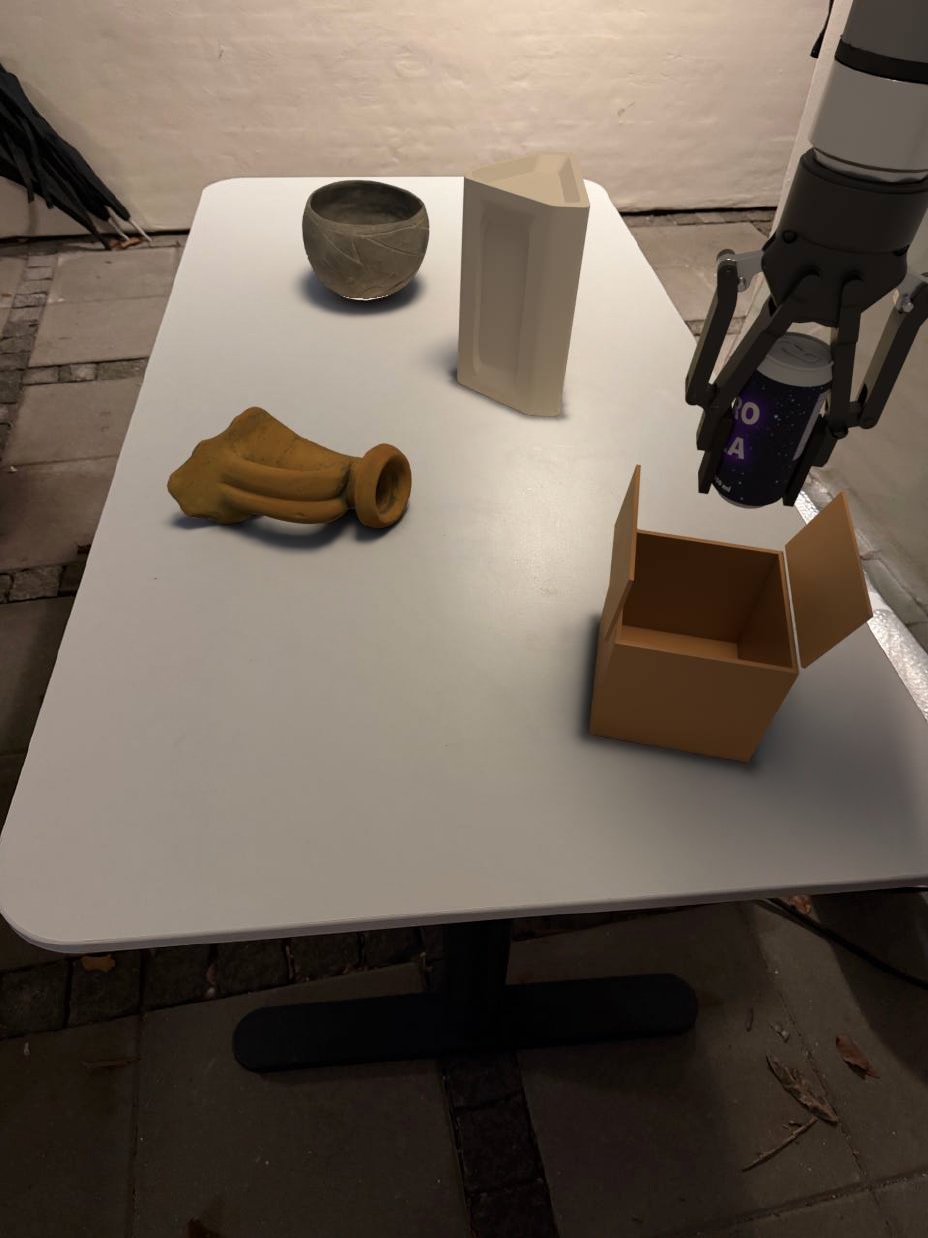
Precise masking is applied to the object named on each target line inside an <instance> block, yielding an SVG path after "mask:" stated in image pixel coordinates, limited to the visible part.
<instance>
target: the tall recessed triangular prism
mask: <svg viewBox="0 0 928 1238" xmlns="http://www.w3.org/2000/svg"><path fill="white" fill-rule="evenodd" d="M578 159H579V158H578V155H577V154H576V153H573V152H564V151H563V152H562V151H538V152H533V153H529V154H525V155H521V156H517V157H516V156H515V157H512V158H508V159H504V160H499V161H495V162H490V163H486V164H481V165H477V166H473V167H470V168H469V167H468V168H466V169H464V171H463V189H462V191H463V193H462V219H461V220H462V221H461V222H462V223H461V224H462V225H461V250H460V253H461V254H460V279H459V280H460V281H459V282H460V284H459V309H458V310H459V311H458V313H459V315H458V338H457V339H458V340H457V341H458V343H457V367H456V370H457V371H456V373H457V374H456V380H457V383H458V384H460V385H462V386H465V387H466V388H468V389H470V390H473V391H475V392H477V393H478V394H482V395H484V396H486V397H488V398H490V399H492V400H494V401H497V402H499V403H501V404H503V405H505V406H508V407H510V408H511V409H514V410H516V411H518V412H520V413H522V414H525V415H527V416H528V415H529V416H539V417H557V416H559V415H560V413H561V406H562V401H563V393H564V387H565V379H566V373H567V365H568V358H569V352H570V345H571V339H572V331H573V324H574V318H575V312H576V305H577V297H578V291H579V285H580V277H581V271H582V265H583V257H584V250H585V244H586V237H587V230H588V223H589V218H590V217H589V216H590V211H591V210H590V209H591V202H590V198H589V195H588V192H587V188H586V187H587V186H586V184H585V181H584V177H583V174H582V170H581V167H580V162H579V160H578Z"/></svg>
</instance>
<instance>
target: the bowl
mask: <svg viewBox="0 0 928 1238" xmlns="http://www.w3.org/2000/svg"><path fill="white" fill-rule="evenodd" d="M426 207H427V206H426V204H425V203H424V202H423V200H422V199H421V198H420V197H418V196H417V195H416V194H414V193H413V192H411V191H409V190H407V189H406V188H402V187H399V186H397V185H396V186H395V185H392V184H389V183H386V182H381V181H375V180H369V179H368V180H365V179H346V180H339V181H334V182H331V183H328V184H325V185H323V186H321V187H318V188H317V189H315V190H313V191H312V193H311V194H309V196H308V198H307V200H306V202H305V206H304V209H303V214H302V219H301V234H302V241H303V249H304V251H305V255H306V256H307V260H308V262H309V265H310V266H311V269H312V271H313V272H314V274H315V275H316V277H317V278H318V279H319V280H320V282H322V284H323V285H325V286H326V288H328V289H329V290H331V291H332V292H333V291H334V293H335V294H336V293H337V294H336V295H338V294H339V295H338V296H340V295H342V296H345V297H349V298H363V299H369V298H377V297H382V296H386V295H390V294H392V295H394V294H396V293H397V292H399V291H400V290H402V289H403V288H404V287H406V286H408V284H409V283H410V282H412V281H413V279H414V277H415V276H416V275H417V273H418V272H419V270H420V268H421V266H422V264H423V262H424V260H425V256H426V254H427V251H428V245H429V241H430V232H431V231H430V219H429V213H428V210H427V208H426ZM395 292H396V293H395ZM393 293H394V294H393ZM342 296H341V297H342ZM390 296H391V295H390Z"/></svg>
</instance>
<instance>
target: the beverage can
mask: <svg viewBox="0 0 928 1238" xmlns="http://www.w3.org/2000/svg"><path fill="white" fill-rule="evenodd" d="M833 364H834V360H833V361H832V357H831V353H830V343H828V342H826V341H824V340H822V339H821V338H819V337H816V336H813V335H810V334H807V333H803V332H799V331H788V330H787V331H786V333H785V334H784V335H783V336H782V337H781V338H778V340H777V341H776V342H775V344H774V345H773V346H772V348H771V349H770V351H769V352H768V353H767V355H766V356H765V358H764V359H763V360H762V362H761V363H760V365H759V366H758V367H757V369H756V370H755V371H754V373H753V374H752V376H751V377H750V379H749V380H748V381H747V383H746V384H745V386H744V387H743V388H742V390H741V391H740V393H739V394H738V395H737V397H736V398H735V400H734V401H733V404H732V413H733V424H732V427H731V430H730V433H729V436H728V438H727V441H726V444H725V447H724V450H723V453H722V456H721V459H720V462H719V464H718V467H717V470H716V473H715V476H714V479H713V482H712V485H711V486H713V488H714V489H715V490H716V492H717V494H718V495H719V496H720V498H722V500H724V501H725V502H726V503H728V504H730V505H733V506H735V507H738V508H741V509H746V510H747V509H749V510H754V509H761V508H764V507H766V506H769V505H772V504H775V503H778V502H779V501H780V500H782V497H783V495H784V493H785V491H786V488H787V486H788V484H789V482H790V479H791V477H792V475H793V472H794V470H795V468H796V465H797V463H798V461H799V459H800V456H801V454H802V452H803V449H804V447H805V445H806V443H807V440H808V438H809V436H810V433H811V431H812V429H813V426H814V424H815V422H816V420H817V417H818V415H819V413H820V412H821V410H822V408H823V407H824V405H825V399H826V397H827V394H828V392H829V390H830V387H831V385H832V382H833ZM820 414H821V413H820Z"/></svg>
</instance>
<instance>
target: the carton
mask: <svg viewBox="0 0 928 1238" xmlns="http://www.w3.org/2000/svg"><path fill="white" fill-rule="evenodd" d="M641 467H642V465H641V464H636V465H635V468H634V470H633V473H632V475H631V479H630V481H629V484H628V487H627V490H626V493H625V494H624V495H625V496H624V498H623V501H622V503H621V507H620V508H619V512H618V515H617V518H616V520H615V523H614V527H613V538H612V548H611V559H610V570H609V580H608V581H609V583H608V588H607V591H606V596H605V599H604V604H603V608H602V611H601V616H600V620H599V628H598V629H599V630H598V639H597V649H596V657H595V669H594V679H593V687H592V688H593V689H592V699H591V709H590V718H589V719H590V720H589V728H588V729H589V730H588V735H593V736H597V737H604V738H609V739H614V740H621V741H625V742H632V743H636V744H643V745H647V746H653V747H660V748H664V749H670V750H676V751H681V752H687V753H693V754H698V755H703V756H710V757H713V758H715V757H716V758H721V759H724V760H725V759H727V760H731V761H737V762H743V763H749V761H750V759H751V758H752V756H753V754H754V753H755V751H756V750H757V748H758V746H759V744H760V743H761V741H762V739H763V737H764V736H765V734H766V732H767V730H768V729H769V727H770V725H771V723H772V722H773V720H774V718H775V717H776V715H777V713H778V712H779V710H780V708H781V707H782V705H783V703H784V701H785V700H786V697H787V696H788V694H789V693H790V691H791V689H792V687H793V685H794V684H795V682H796V680H797V679H798V677H799V676H800V670H799V663H798V662H799V661H798V654H797V647H796V638H795V631H794V624H793V623H794V622H793V615H792V607H791V601H790V592H789V586H788V577H787V569H786V563H785V562H786V561H785V555H784V551H783V550H777V549H771V548H764V547H758V546H757V547H756V546H751V545H744V544H737V543H731V542H726V541H725V542H724V541H718V540H712V539H704V538H700V537H699V538H698V537H691V536H685V535H680V534H679V535H678V534H672V533H666V532H659V531H652V530H646V529H639V528H638V520H639V519H638V518H639V516H638V515H639V505H640V503H639V501H640V489H641V487H640V485H641V471H642V470H641V469H642V468H641Z"/></svg>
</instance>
